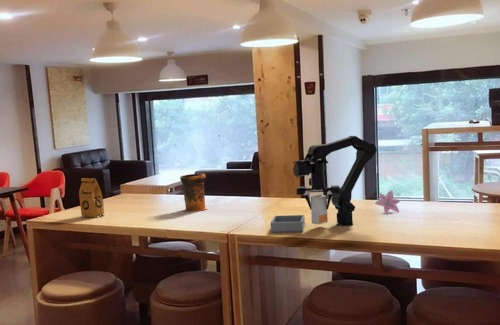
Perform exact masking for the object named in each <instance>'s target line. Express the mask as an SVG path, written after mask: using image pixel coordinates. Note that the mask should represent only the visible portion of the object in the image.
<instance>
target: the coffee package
mask: <svg viewBox="0 0 500 325" xmlns="http://www.w3.org/2000/svg"><path fill="white" fill-rule="evenodd" d="M80 181H81V184H80V186H79V187H80V188H79V191H78V196H79V204H80V207H79V208H80V212H81V213H80V215H81V217H86V216H88V217H87V218H94V217H96V216H100V215H103V214H104V215H105V207H104V198H103V194H102V190H101V188H100V184H99V183H98V181H97V179H96V178H94V177H93V178H90V177H89V178H88V177H87V178H86V177H83V178H82V177H81V180H80ZM100 217H101V216H100Z"/></svg>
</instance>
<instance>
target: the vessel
mask: <svg viewBox="0 0 500 325" xmlns="http://www.w3.org/2000/svg"><path fill="white" fill-rule="evenodd" d="M206 177H207V176H206V174H205V173H190V174H185V175H181V176H179V179H180V182H181V184H182V189H183V198H184V204H185V209H184V210H183V212H186V211H190V212H189V213H196V212H200V211H203V210H208V207H206V202H205V201H206V199H205V186H204V184H205V181H206Z"/></svg>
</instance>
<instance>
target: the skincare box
mask: <svg viewBox="0 0 500 325" xmlns="http://www.w3.org/2000/svg"><path fill="white" fill-rule="evenodd" d="M327 200H328V195H324V194H323V195H322V194H317V195H314V196H313V195H312V196H310V201H311V210H310V211H311V212H310V213H311V224H314V225H321V224H326V223H328V221H329V220H328V209H327Z"/></svg>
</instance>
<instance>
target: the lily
mask: <svg viewBox="0 0 500 325" xmlns="http://www.w3.org/2000/svg"><path fill="white" fill-rule="evenodd" d="M378 195H379V197H380V199H378V200H377V201H376V202H375V203H374V204H375V205H378V206H380V207H383V211H384V214H387V213H388V212H389V211H390V210H391V211H393V212H396V213H400V209H399V207H398V205H397V204H398V203H399V204H400V202H401V200H400V199H396V198H395V196H394V192H393V190H392V189H391V190H389V191H388V192H387V193H386V194H383V193H380V192H379V193H378Z"/></svg>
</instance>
